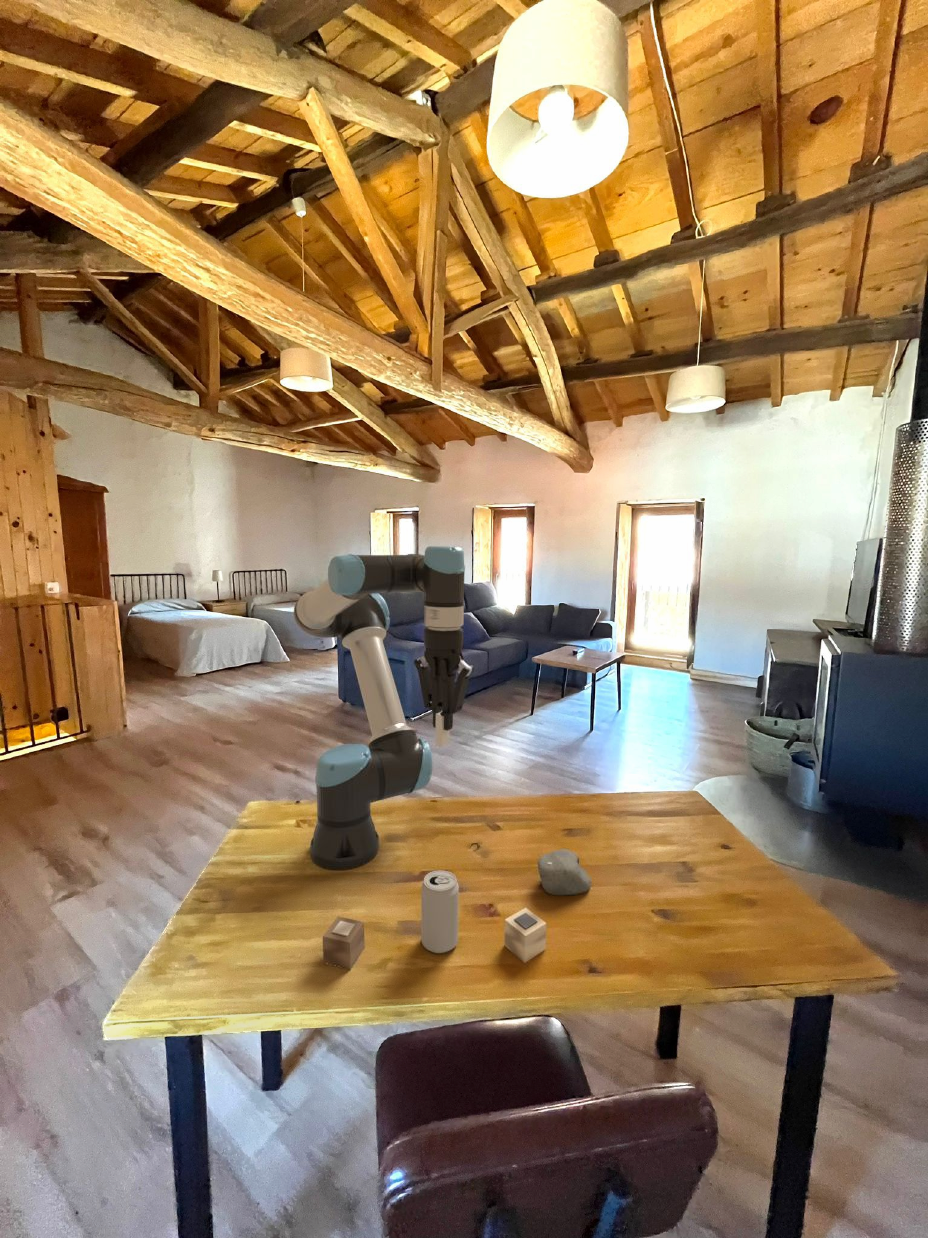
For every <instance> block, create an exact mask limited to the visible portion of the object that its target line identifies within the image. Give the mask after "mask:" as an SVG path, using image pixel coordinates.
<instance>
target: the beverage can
mask: <svg viewBox="0 0 928 1238" xmlns="http://www.w3.org/2000/svg"><path fill="white" fill-rule="evenodd" d="M459 891H460V887H459V883H458V880H457V877H456V875H455V874H454V873H453V872H451V871H448V870H443V869H439V870H433V871H430V872H428V873H427V874H426V875H425V876H424V878H423V882H422V885H421V931H420V932H421V936H420V937H421V943H422V946H423V947H424V948H425V949H426V950H427V951H428V952H429V951H430V952H432V953H435V954H444V953H447V952H449V951H451V950H453V949H454V948H455V947H456V946H457V944H458V941H459V899H460V898H459Z"/></svg>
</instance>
